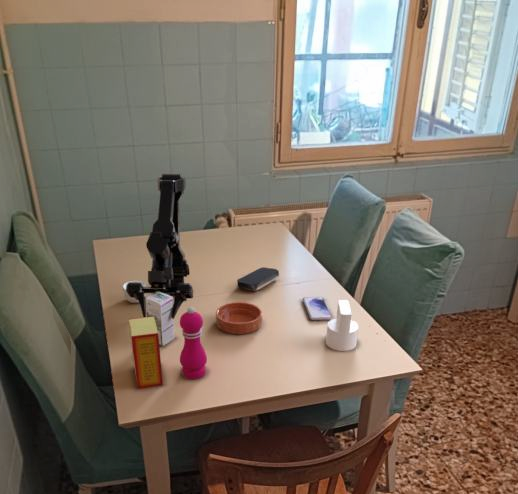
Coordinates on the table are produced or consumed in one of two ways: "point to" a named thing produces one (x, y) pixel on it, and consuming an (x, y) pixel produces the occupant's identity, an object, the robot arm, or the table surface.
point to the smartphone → (317, 308)
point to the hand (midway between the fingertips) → (158, 318)
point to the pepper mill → (192, 345)
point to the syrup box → (161, 315)
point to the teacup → (127, 293)
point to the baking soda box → (146, 352)
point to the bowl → (239, 317)
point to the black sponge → (258, 279)
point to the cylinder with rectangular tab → (342, 329)
